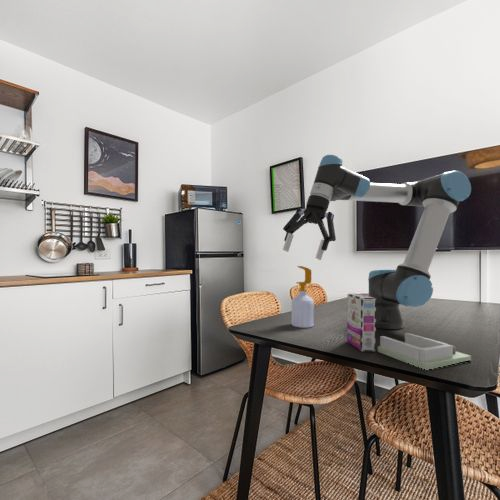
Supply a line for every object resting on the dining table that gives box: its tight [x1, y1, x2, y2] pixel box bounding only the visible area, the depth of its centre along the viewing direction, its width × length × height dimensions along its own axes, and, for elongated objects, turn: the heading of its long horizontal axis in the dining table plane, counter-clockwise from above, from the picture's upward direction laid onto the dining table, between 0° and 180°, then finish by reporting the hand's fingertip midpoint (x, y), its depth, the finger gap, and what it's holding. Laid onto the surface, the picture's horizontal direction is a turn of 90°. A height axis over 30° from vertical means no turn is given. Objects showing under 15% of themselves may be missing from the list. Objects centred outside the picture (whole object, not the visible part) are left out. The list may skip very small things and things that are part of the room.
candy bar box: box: [346, 293, 377, 353], centre depth 97 cm, size 11×5×16 cm, turn 5°
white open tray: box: [377, 332, 472, 371], centre depth 88 cm, size 18×16×4 cm
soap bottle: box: [291, 265, 315, 329], centre depth 125 cm, size 9×9×25 cm
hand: (301, 254), depth 106 cm, fingers open, 13 cm apart
